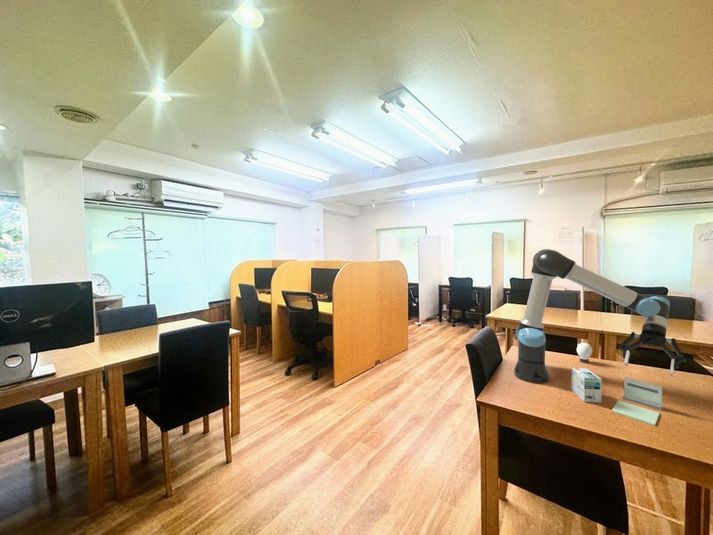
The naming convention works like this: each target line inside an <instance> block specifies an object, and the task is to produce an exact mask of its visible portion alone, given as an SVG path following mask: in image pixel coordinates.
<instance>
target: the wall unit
mask: <svg viewBox="0 0 713 535" xmlns="http://www.w3.org/2000/svg"><path fill="white" fill-rule="evenodd" d="M623 380H624V381H623V396H622V400H626V401H628V402H632V403H635V404H639V405H642V406H645V407H649V408H652V409H654V410H655V409H656V410H658V411H659V410H660V411H663V409H664V408H663V406H662V404H663V389H664V388H663V385H657V384H655V383H654V384H653V383H650V382H646V381H641V380H637V379H634V378H630V377H627V376H625V377H624V379H623Z"/></svg>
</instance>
